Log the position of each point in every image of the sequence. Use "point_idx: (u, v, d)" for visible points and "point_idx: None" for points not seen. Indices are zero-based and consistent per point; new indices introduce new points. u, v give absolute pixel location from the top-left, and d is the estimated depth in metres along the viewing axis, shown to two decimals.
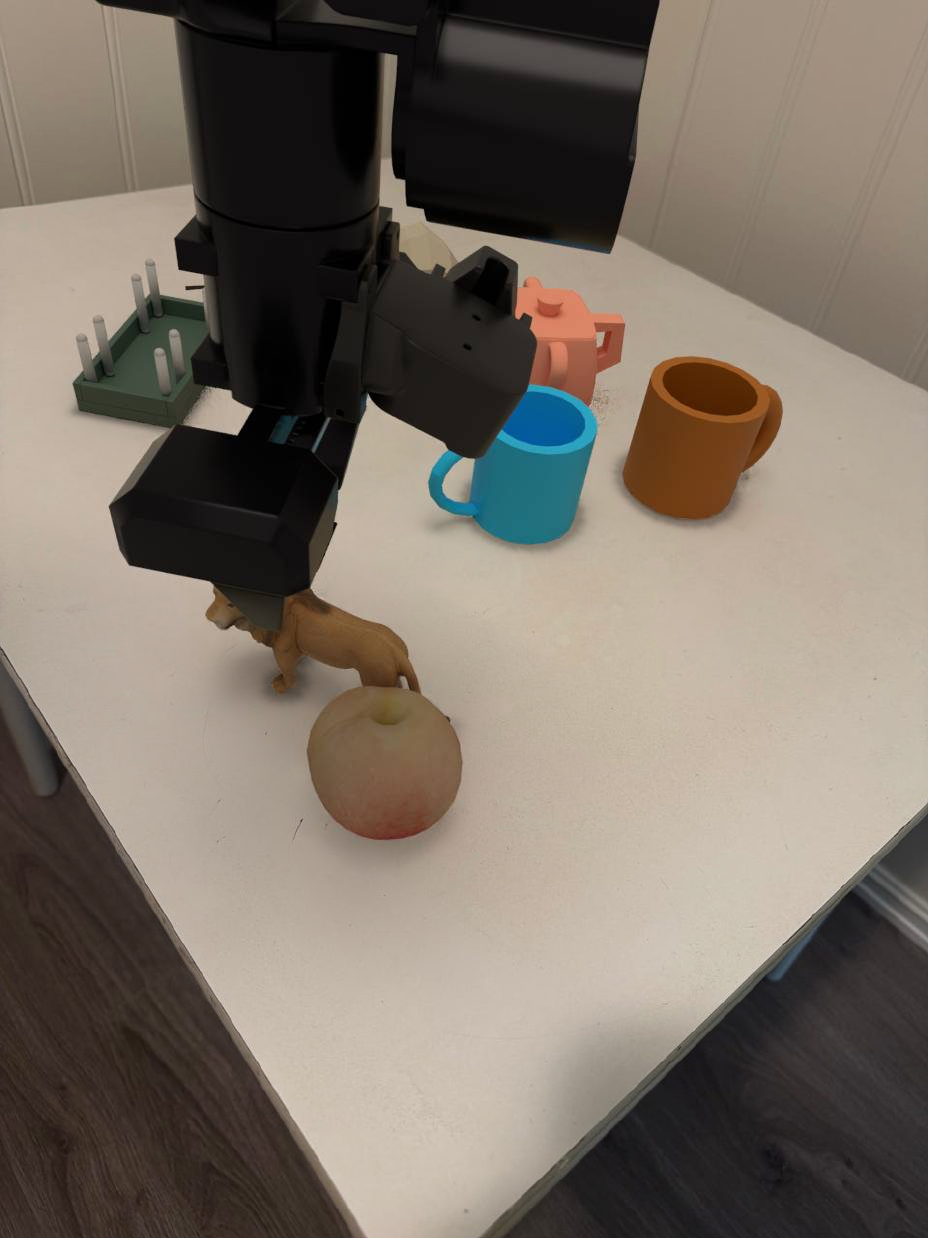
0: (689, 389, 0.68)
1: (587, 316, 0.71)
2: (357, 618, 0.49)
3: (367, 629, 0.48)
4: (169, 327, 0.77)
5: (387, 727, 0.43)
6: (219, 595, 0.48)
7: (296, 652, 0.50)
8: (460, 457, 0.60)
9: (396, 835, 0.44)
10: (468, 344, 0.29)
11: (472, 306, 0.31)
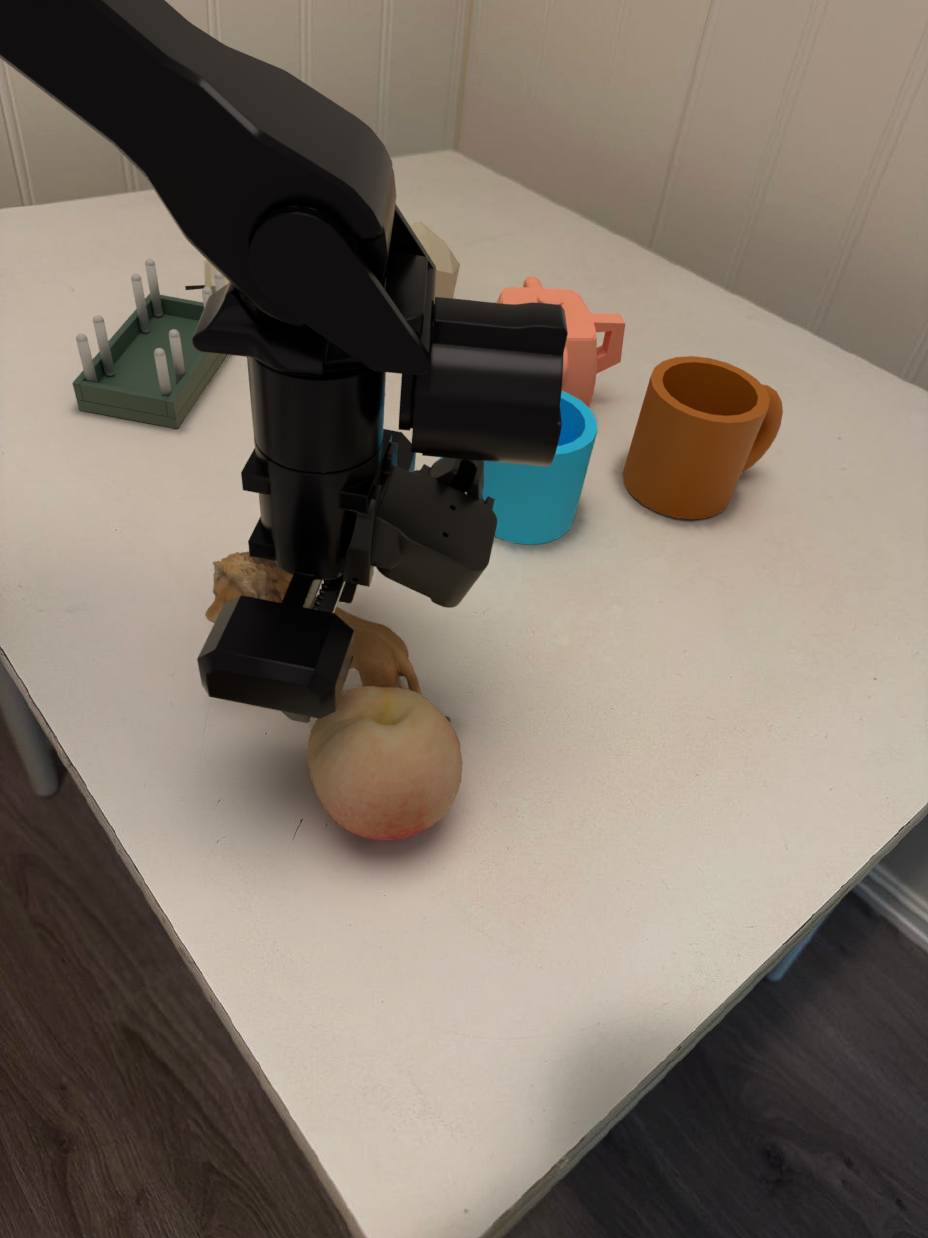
0: (689, 389, 0.68)
1: (587, 316, 0.71)
2: (357, 618, 0.49)
3: (367, 629, 0.48)
4: (169, 327, 0.77)
5: (387, 727, 0.43)
6: (219, 595, 0.48)
7: None
8: None
9: (396, 835, 0.44)
10: (446, 532, 0.41)
11: (450, 498, 0.43)
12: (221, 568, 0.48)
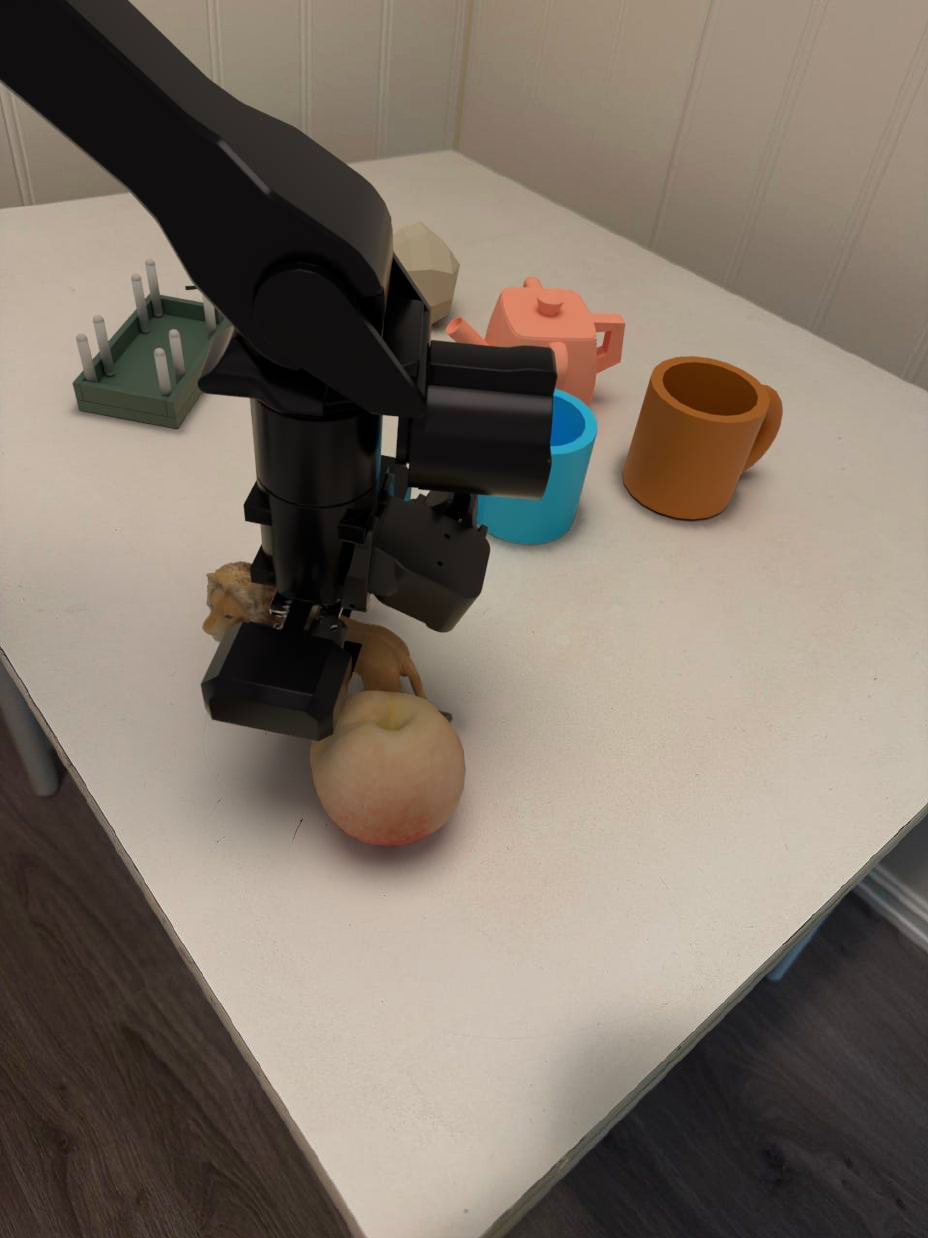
0: (689, 389, 0.68)
1: (587, 316, 0.71)
2: (355, 621, 0.49)
3: (367, 632, 0.48)
4: (169, 327, 0.77)
5: (390, 732, 0.43)
6: (215, 607, 0.47)
7: None
8: None
9: (397, 841, 0.44)
10: (440, 561, 0.43)
11: (444, 527, 0.44)
12: (216, 580, 0.47)
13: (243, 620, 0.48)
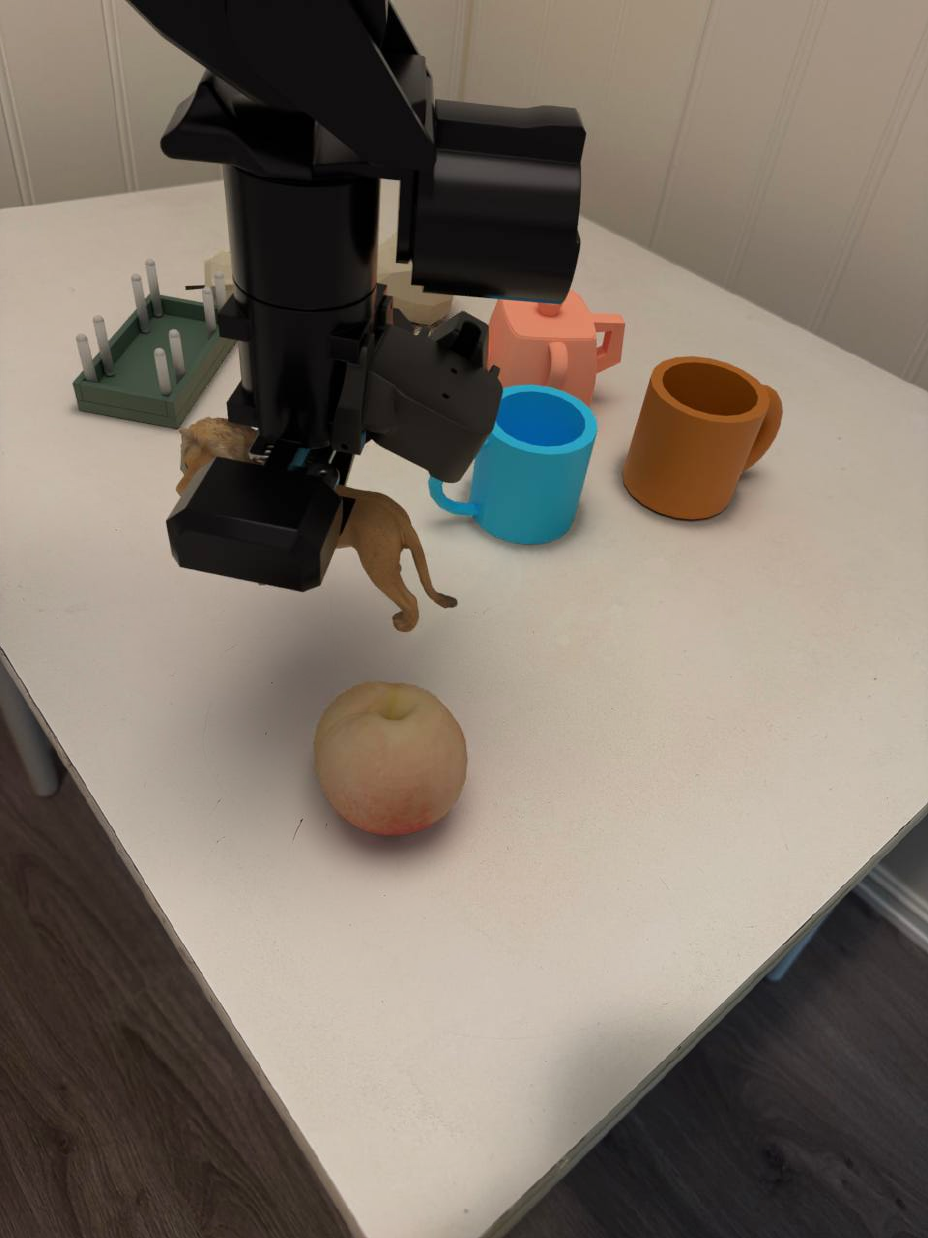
0: (689, 389, 0.68)
1: (587, 316, 0.71)
2: (350, 488, 0.44)
3: (364, 497, 0.43)
4: (169, 327, 0.77)
5: (393, 722, 0.43)
6: (191, 466, 0.41)
7: None
8: None
9: (400, 830, 0.44)
10: (446, 393, 0.37)
11: (451, 361, 0.39)
12: (191, 434, 0.41)
13: None
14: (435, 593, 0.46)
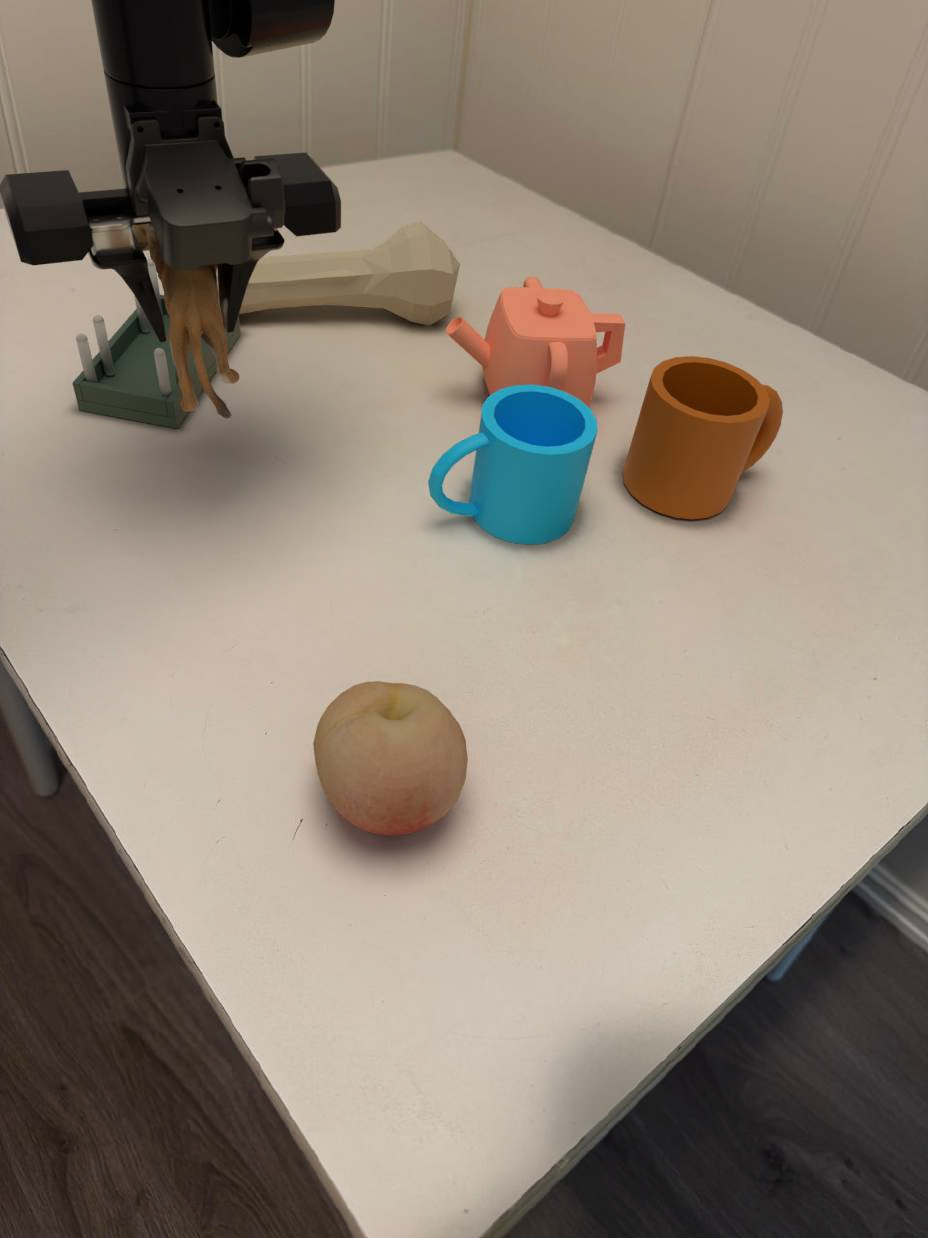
0: (689, 389, 0.68)
1: (587, 316, 0.71)
2: (204, 280, 0.54)
3: (193, 284, 0.53)
4: (169, 327, 0.77)
5: (393, 722, 0.43)
6: None
7: (171, 297, 0.57)
8: (460, 457, 0.60)
9: (400, 830, 0.44)
10: (183, 190, 0.46)
11: (226, 182, 0.47)
12: None
13: (146, 234, 0.56)
14: (210, 393, 0.54)
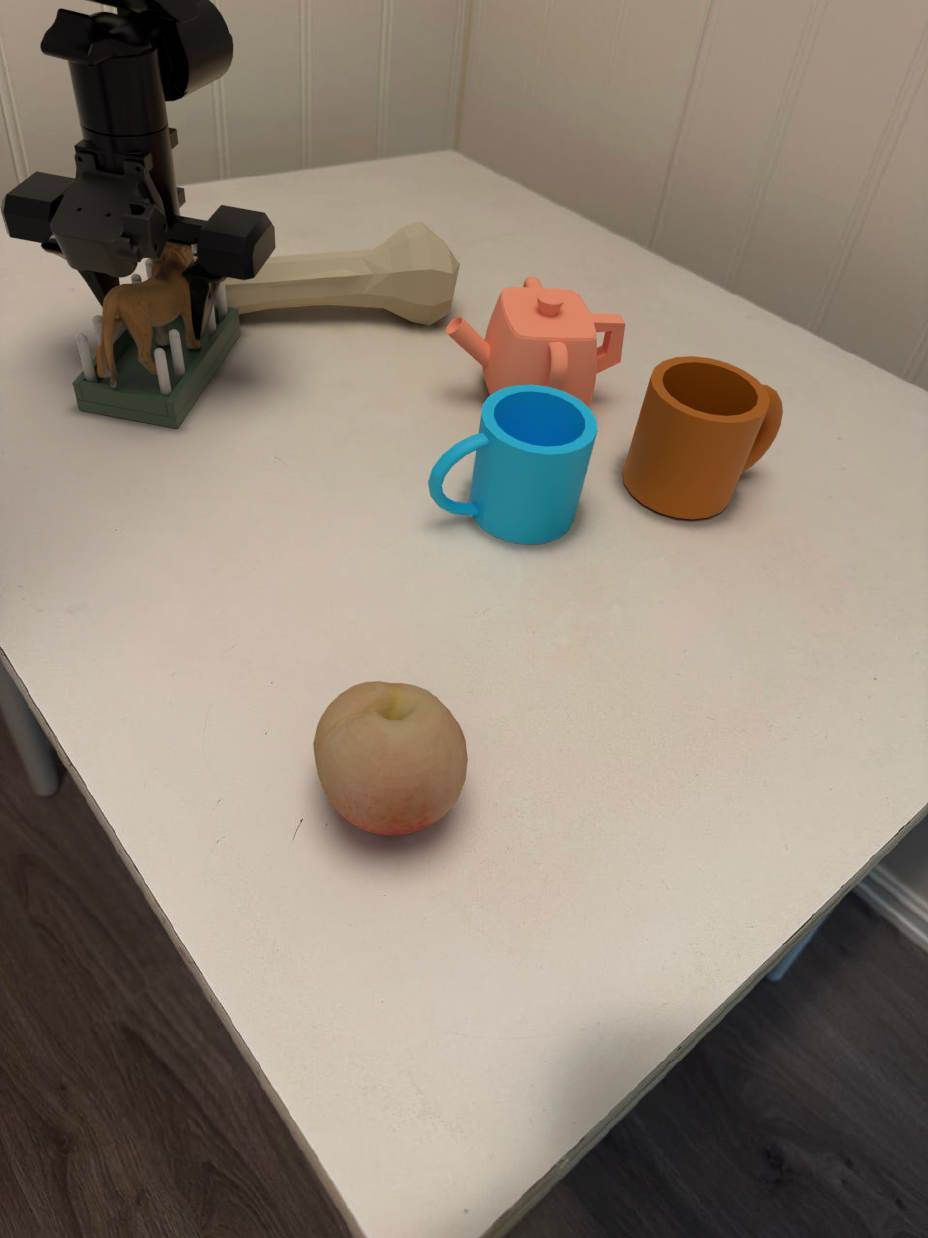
0: (689, 389, 0.68)
1: (587, 316, 0.71)
2: (152, 287, 0.68)
3: (135, 284, 0.67)
4: (169, 327, 0.77)
5: (393, 722, 0.43)
6: None
7: None
8: (460, 457, 0.60)
9: (400, 830, 0.44)
10: (81, 209, 0.58)
11: (117, 213, 0.58)
12: None
13: None
14: (109, 364, 0.66)
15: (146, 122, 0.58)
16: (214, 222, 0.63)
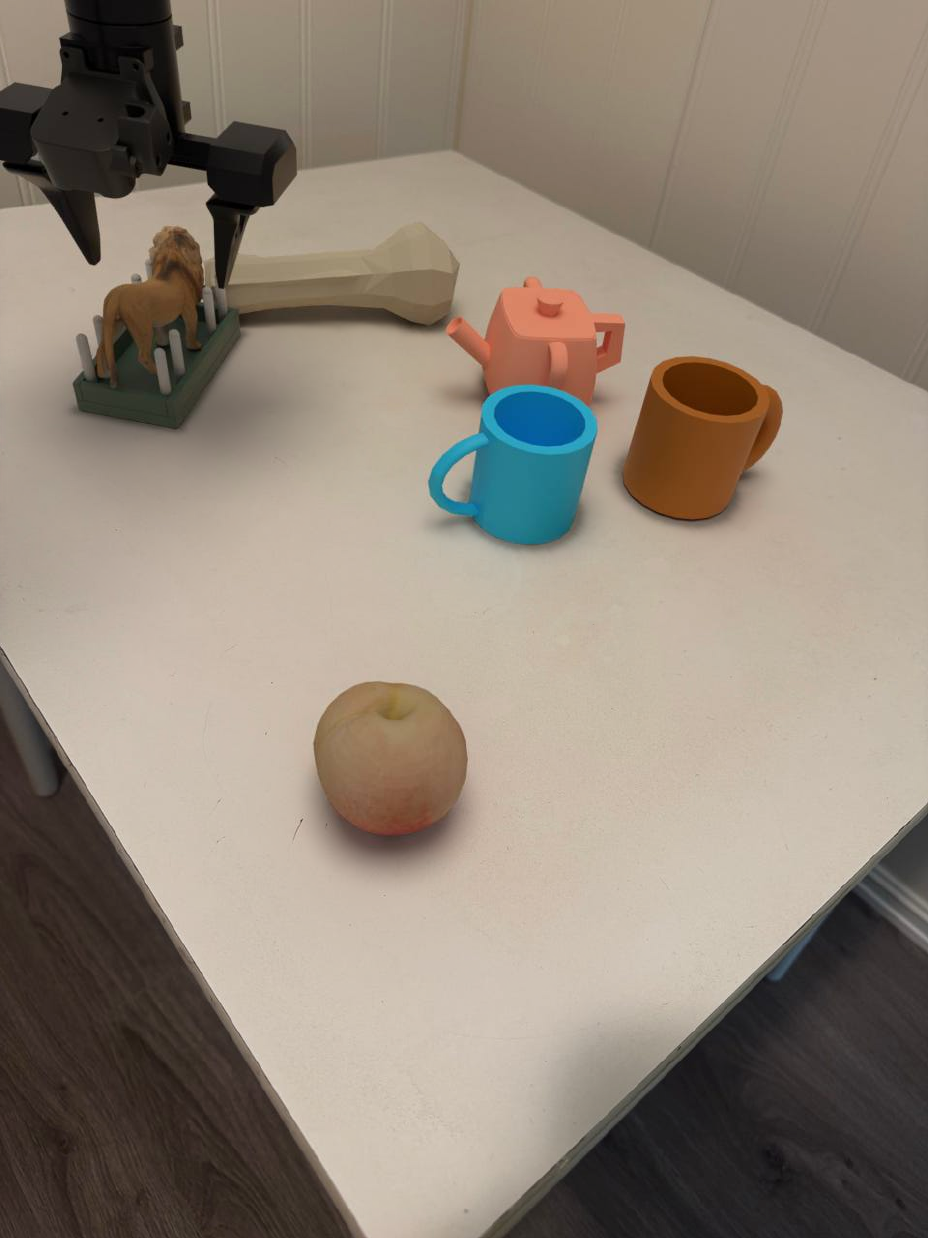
0: (689, 389, 0.68)
1: (586, 316, 0.71)
2: (152, 287, 0.68)
3: (136, 284, 0.67)
4: (169, 327, 0.77)
5: (393, 722, 0.43)
6: None
7: None
8: (460, 457, 0.60)
9: (400, 830, 0.44)
10: (68, 113, 0.48)
11: (111, 118, 0.48)
12: None
13: None
14: (109, 364, 0.66)
15: (138, 9, 0.48)
16: (226, 138, 0.53)
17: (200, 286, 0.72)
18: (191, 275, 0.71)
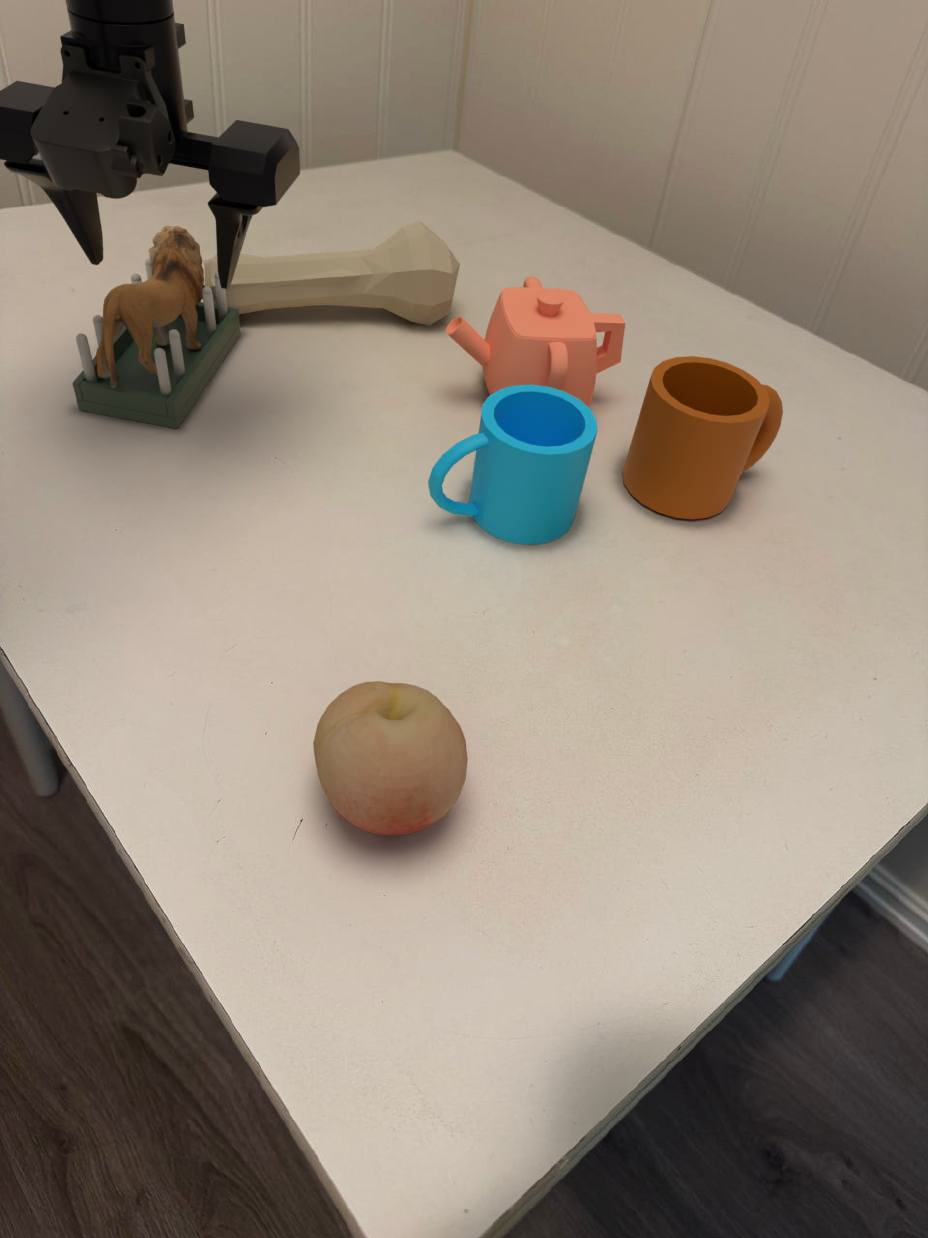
0: (689, 389, 0.68)
1: (586, 316, 0.71)
2: (152, 287, 0.68)
3: (136, 284, 0.67)
4: (169, 327, 0.77)
5: (393, 722, 0.43)
6: None
7: None
8: (460, 457, 0.60)
9: (400, 830, 0.44)
10: (69, 113, 0.48)
11: (112, 117, 0.48)
12: None
13: None
14: (109, 364, 0.66)
15: (139, 7, 0.48)
16: (228, 137, 0.53)
17: (200, 286, 0.72)
18: (191, 275, 0.71)
